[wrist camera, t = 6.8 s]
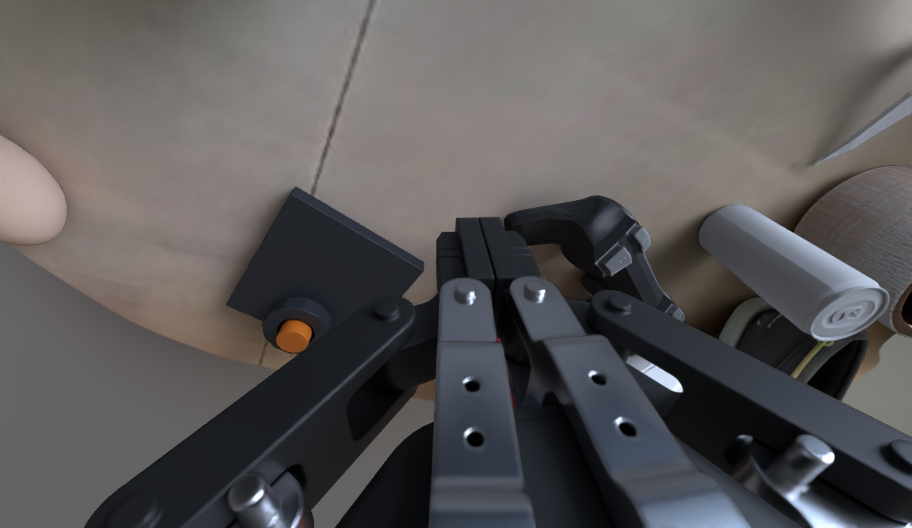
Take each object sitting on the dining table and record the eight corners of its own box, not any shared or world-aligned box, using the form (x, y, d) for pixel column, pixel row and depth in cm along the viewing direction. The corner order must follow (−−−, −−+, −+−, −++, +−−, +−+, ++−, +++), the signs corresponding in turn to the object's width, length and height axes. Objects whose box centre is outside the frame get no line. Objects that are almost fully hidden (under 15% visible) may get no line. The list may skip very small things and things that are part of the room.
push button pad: (347, 351, 39) (342, 374, 36) (229, 300, 34) (214, 323, 31) (424, 261, 33) (424, 282, 31) (296, 186, 28) (283, 202, 26)
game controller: (613, 286, 40) (710, 324, 31) (572, 333, 38) (660, 385, 30) (545, 165, 31) (651, 170, 23) (490, 221, 30) (580, 248, 22)
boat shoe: (637, 545, 40) (711, 635, 32) (702, 288, 36) (805, 316, 28) (715, 534, 44) (800, 613, 35) (782, 298, 40) (896, 325, 31)
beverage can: (743, 242, 35) (872, 334, 25) (691, 253, 35) (798, 349, 25) (756, 195, 32) (907, 277, 22) (699, 208, 32) (823, 295, 22)
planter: (762, 272, 36) (857, 343, 29) (824, 163, 30) (965, 216, 22) (865, 267, 37) (985, 336, 29) (945, 160, 31) (1124, 210, 23)
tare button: (304, 344, 34) (299, 356, 33) (276, 332, 33) (270, 345, 32) (317, 326, 33) (313, 339, 32) (289, 314, 32) (283, 326, 31)
